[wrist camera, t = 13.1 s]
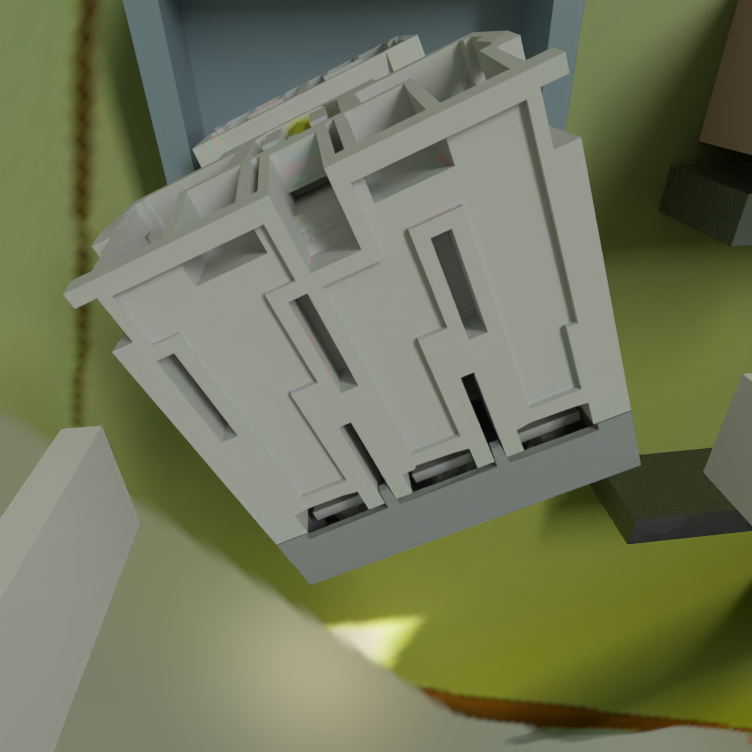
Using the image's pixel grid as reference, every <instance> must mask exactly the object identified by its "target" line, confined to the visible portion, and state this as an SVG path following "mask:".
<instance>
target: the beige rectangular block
mask: <svg viewBox="0 0 752 752" xmlns="http://www.w3.org/2000/svg"><path fill="white" fill-rule="evenodd" d="M699 141H700V142H704V143H708V144H711V145H715V146H719V147H723V148H727V149H731V150H734V151H738V152H742V153H746V154H750V155H752V0H738V3H737V6H736V10H735V13H734V17H733V20H732V24H731V28H730V31H729V35H728V38H727V42H726V45H725V49H724V53H723V56H722V60H721V63H720V67H719V70H718V74H717V78H716V81H715V85H714V88H713V92H712V95H711V99H710V103H709V106H708V110H707V113H706V117H705V120H704V124H703V128H702V131H701V135H700V138H699Z"/></svg>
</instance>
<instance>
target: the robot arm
mask: <svg viewBox="0 0 752 752" xmlns="http://www.w3.org/2000/svg"><path fill="white" fill-rule="evenodd" d="M703 473H704V474H705V475H706V476H707V477H708V478H709V479H710V480H711V481H712V482H713V484H714V485H715V486H716V487H717V488H718V489H719V490H720V491H721V492H722V494H723V495H724V496H725V497H726V498H727V499H728V500H729V501H730V502H731V503H732V505H733V506H734V507H735V508H736V509H737V510H738V511H739V512H740V513H741V514H742V516H743V517H744V518H745V519H746V520H747V521H748V522H749V523H750V524H751V526H752V373H749V374H742V376H741V379H740V381H739V384H738V386H737V389H736V391H735V394H734V396H733V399H732V401H731V404H730V406H729V409H728V411H727V414H726V416H725V419H724V421H723V424H722V426H721V429H720V431H719V434H718V436H717V439H716V441H715V444H714V446H713V449H712V451H711V453H710V456H709V458H708V461H707V463H706V466H705V468H704V471H703ZM139 526H140V521H139V519H138V516H137V513H136V511H135V508H134V506H133V503H132V501H131V498H130V496H129V493H128V491H127V488H126V486H125V483H124V481H123V478H122V476H121V473H120V471H119V468H118V466H117V463H116V461H115V458H114V456H113V453H112V451H111V448H110V446H109V443H108V440H107V438H106V435H105V433H104V430H103V428H102V426H92V427H80V428H67V429H61V430H60V432H59V433H58V435H57V436H56V437H55V439H54V440H53V442H52V443H51V445H50V446H49V448H48V449H47V451H46V452H45V454H44V455H43V457H42V458H41V459H40V461H39V462H38V464H37V465H36V467H35V468H34V470H33V471H32V473H31V474H30V476H29V477H28V479H27V480H26V481H25V483H24V484H23V486H22V487H21V489H20V490H19V492H18V493H17V495H16V496H15V498H14V499H13V500H12V502H11V503H10V505H9V506H8V508H7V509H6V511H5V512H4V514H3V515H2V517H1V518H0V752H54V750H55V748H56V745H57V742H58V740H59V737H60V734H61V732H62V729H63V726H64V724H65V721H66V719H67V716H68V713H69V711H70V708H71V705H72V703H73V700H74V698H75V695H76V692H77V690H78V687H79V684H80V682H81V679H82V676H83V674H84V671H85V669H86V666H87V663H88V660H89V658H90V655H91V653H92V650H93V647H94V645H95V642H96V640H97V637H98V634H99V632H100V629H101V626H102V624H103V621H104V619H105V616H106V613H107V611H108V608H109V605H110V603H111V600H112V597H113V595H114V592H115V590H116V587H117V584H118V582H119V579H120V576H121V574H122V571H123V568H124V566H125V563H126V561H127V558H128V555H129V552H130V550H131V547H132V545H133V542H134V539H135V537H136V534H137V532H138V529H139Z"/></svg>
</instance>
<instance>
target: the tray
mask: <svg viewBox="0 0 752 752" xmlns="http://www.w3.org/2000/svg"><path fill="white" fill-rule="evenodd" d="M584 2H585V0H123V4H124V8H125V12H126V16H127V21H128V25H129V29H130V33H131V37H132V41H133V45H134V49H135V54H136V58H137V62H138V66H139V70H140V74H141V78H142V82H143V87H144V91H145V95H146V99H147V103H148V107H149V111H150V115H151V119H152V124H153V128H154V132H155V136H156V140H157V144H158V148H159V152H160V157H161V161H162V165H163V169H164V173H165V177H166V181H167V185H168V184H170V183H172V182H174V181H176V180H178V179H180V178H182V177H184V176H186V175H188V174H190V173H192V172H194V171H196V170H198V169H200V168H201V166H200V164H199V162H198V160H197V158H196V156H195V154H194V152H193V148H194V147H195V146H196V145H197V144H199V143H200V142H201V141H202V140H203V139H204V138H205V137H206V136H207V135H208V134H210V133H212V132H214V131H215V130H214V129H215V128H217V127H219V126H220V125H222V124H224V123H226V122H228V121H230V120H232V119H234V118H236V117H238V116H240V115H242V114H244V113H246V112H248V111H250V110H252V109H254V108H256V107H258V106H260V105H262V104H264V103H266V102H267V101H269V100H271V99H273V98H275V97H277V96H279V95H281V94H283V93H285V92H287V91H289V90H291V89H293V88H295V87H297V86H299V85H301V84H303V83H305V82H307V81H309V80H311V79H313V78H315V77H316V76H318V75H320V74H322V73H324V72H326V71H328V70H330V69H332V68H334V67H336V66H338V65H340V64H342V63H344V62H346V61H348V60H350V59H352V58H354V57H356V56H358V55H360V54H362V53H364V52H365V51H367V50H369V49H371V48H373V47H375V46H377V45H379V44H381V43H383V42H385V41H387V40H389V39H391V38H393V37H395V36H398V37H400V36H402V35H418V37H419V40H420V43H421V45H422V48H423V51H424V53H425V56H426V55H428V54H430V53H432V52H434V51H436V50H438V49H440V48H442V47H444V46H446V45H448V44H450V43H452V42H454V41H456V40H458V39H460V38H462V37H464V36H466V35H468V34H470V33H472V32H488V31H510V32H513V33H516V34H518V35H520V36H521V41H522V45H523V50H524V54H525V59H526V60H528V59H530V58H532V57H534V56H536V55H538V54H540V53H542V52H544V51H546V50H548V49H550V48H552V47H554V48H556V49H559V50H562V51H565V52H566V57H567V62H568V68H569V74H567V75H565V76H563V77H560V78H558V79H556V80H554V81H552V82H550V83H548V84H546V85H544V86H542V87H541V91H542V96H543V101H544V106H545V110H546V115H547V120H548V124H549V126H552V127H554V128H557V129H560V130H563V131H565V128H566V121H567V115H568V108H569V101H570V95H571V88H572V82H573V75H574V68H575V62H576V55H577V48H578V42H579V35H580V28H581V22H582V15H583V8H584Z"/></svg>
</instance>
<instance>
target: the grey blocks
mask: <svg viewBox="0 0 752 752" xmlns="http://www.w3.org/2000/svg"><path fill="white" fill-rule="evenodd" d="M660 212H662V213H664V214H666V215H668V216H670V217H672V218H674V219H676V220H678V221H680V222H682V223H684V224H686V225H688V226H690V227H692V228H694V229H696V230H698V231H700V232H702V233H705V234H707V235H709V236H711V237H713V238H715V239H717V240H719V241H721V242H723V243H725V244H727V245H729V246H731V247H732V246H746V245H752V162H739V163H722V164H705V165H688V166H671V170H670V174H669V178H668V181H667V185H666V189H665V193H664V197H663V201H662V204H661V208H660ZM712 449H713V448H709V449H699V450H689V451H679V452H668V453H658V454H648V455H639V457H640V463H641V465H640V466H637V467H635V468H632V469H629V470H626V471H623V472H621V473H618V474H615V475H612V476H610V477H607V478H604V479H601V480H599V481H596V482H593V483H590V485H591V487H592V488H593V490H594V491H595V493H596V495H597V496H598V498H599V499H600V501H601V503H602V504H603V506H604V508H605V509H606V511H607V512H608V514H609V516H610V517H611V519H612V520H613V522H614V524H615V525H616V527H617V528H618V530H619V532H620V533H621V535H622V536H623V538H624V540H625V541H626V543H627V544H634V543H644V542H653V541H662V540H671V539H680V538H690V537H699V536H708V535H717V534H726V533H736V532H745V531H752V526H751V524H750V523H749V522H748V521H747V520H746V519H745V518H744V517H743V516H742V514H741V513H740V512H739V511H738V510H737V509H736V508H735V507H734V506H733V505H732V503H731V502H730V501H729V500H728V499H727V498H726V497H725V496H724V495H723V494H722V492H721V491H720V490H719V489H718V488H717V487H716V486H715V485H714V484H713V482H712V481H711V480H710V479H709V478H708V477H707V476H706V475H705V474H704V473H703V471H704V468H705V466H706V463H707V461H708V458H709V456H710V453H711V451H712Z"/></svg>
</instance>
